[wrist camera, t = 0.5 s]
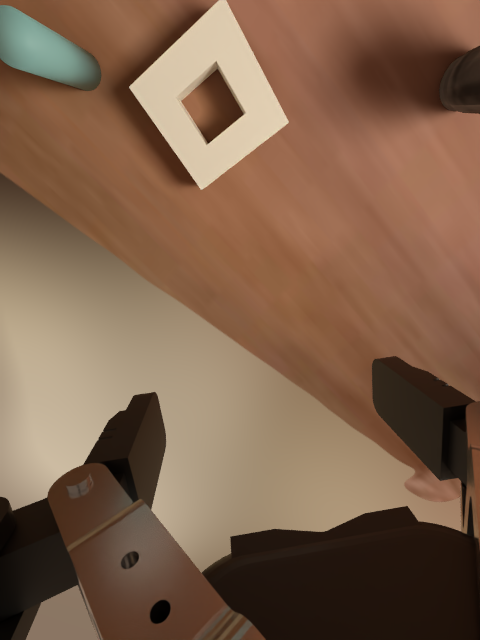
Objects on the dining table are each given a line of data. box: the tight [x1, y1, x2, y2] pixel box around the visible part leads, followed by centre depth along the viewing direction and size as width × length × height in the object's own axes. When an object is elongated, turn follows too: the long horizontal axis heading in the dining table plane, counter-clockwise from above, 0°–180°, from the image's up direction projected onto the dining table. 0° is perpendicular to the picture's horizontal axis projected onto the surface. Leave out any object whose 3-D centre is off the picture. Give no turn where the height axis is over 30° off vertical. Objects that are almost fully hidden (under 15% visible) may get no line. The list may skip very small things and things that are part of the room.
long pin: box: [0, 5, 101, 91], centre depth 24 cm, size 3×3×11 cm
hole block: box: [129, 0, 289, 190], centre depth 29 cm, size 10×10×4 cm
